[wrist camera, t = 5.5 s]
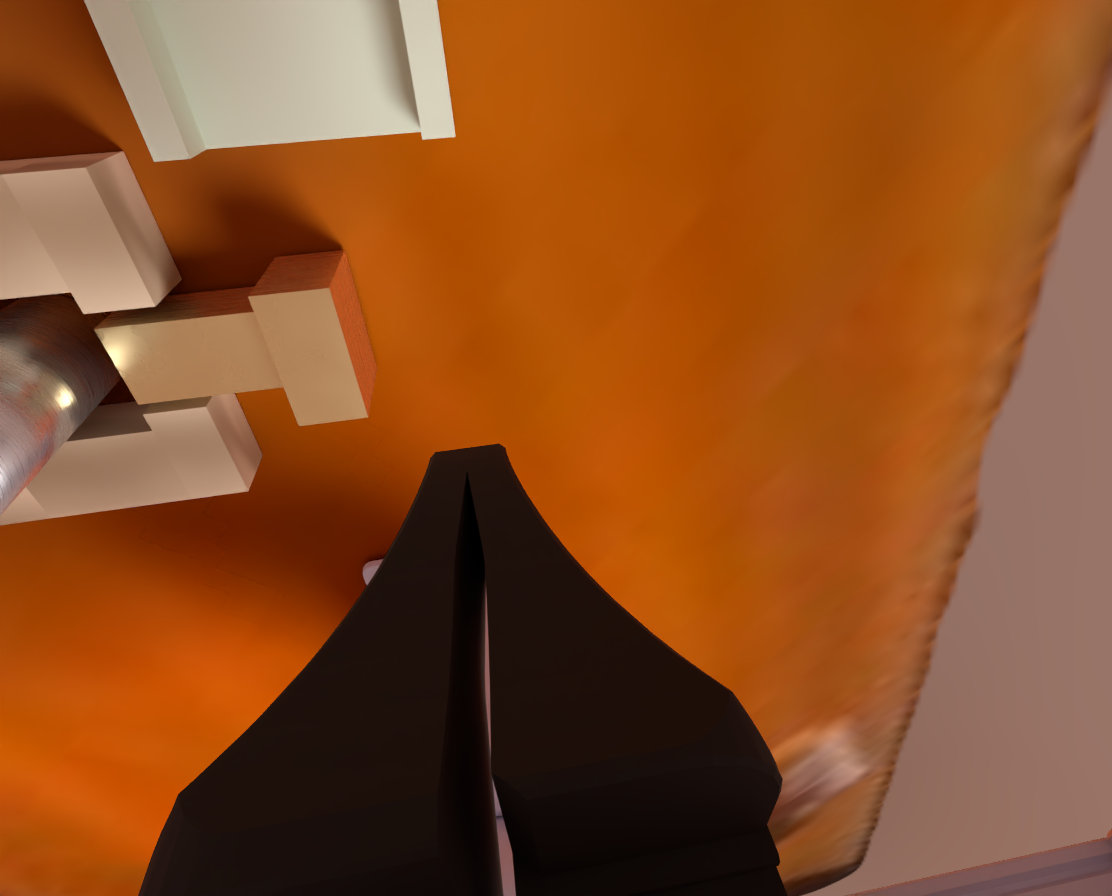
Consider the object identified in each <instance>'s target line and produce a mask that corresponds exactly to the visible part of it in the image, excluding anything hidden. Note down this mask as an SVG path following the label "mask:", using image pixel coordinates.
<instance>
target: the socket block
mask: <svg viewBox="0 0 1112 896" xmlns="http://www.w3.org/2000/svg"><path fill="white" fill-rule="evenodd" d="M181 280H182V278H181V276H180V274H179V271H178V269H177V267H176V265H175V263H174V260H173V258H172V256H171V254H170V252H169V250H168V247H167V245H166V243H165V241H164V239H163V236H162V234H161V232H160V230H159V228H158V226H157V223H156V221H155V219H154V217H153V215H152V213H151V210H150V208H149V206H148V204H147V202H146V199H145V197H144V195H143V193H142V191H141V189H140V186H139V184H138V182H137V180H136V178H135V175H134V173H133V171H132V169H131V167H130V165H129V162H128V160H127V158H126V156H125V154H124V152H123V151H119V152H107V153H95V154H82V155H70V156H58V157H45V158H33V159H21V160H8V161H0V300H1V299H10V298H20V297H30V296H40V295H50V294H59V293H69V292H71V294H72V295H73V297H74V299H75V300H76V302H77V304H78V306H79V307H80V309H81V311H82V312H83V314H89V313H99V312H108V311H118V310H127V309H137V308H146V307H155V306H156V305H157V304H158V303H159V302H160V301H161V300H162V299H163V298H164V297H165V296H166V295H167V294H168V293H169V292H170V291H171V290H172V289H173V288H174V287H175V286H176V285H177V284H178V283H179V282H180V281H181ZM262 456H263V454H262V452H261V450H260V448H259V446H258V443H257V441H256V439H255V437H254V435H253V433H252V430H251V428H250V426H249V424H248V422H247V420H246V417H245V415H244V413H243V411H242V409H241V406H240V404H239V402H238V400H237V398H236V396H235V393H231V394H223V395H214V396H206V397H198V398H190V399H181V400H173V401H165V402H156V403H148V404H140V405H138V403H137V402H136V401H134V402H126V403H117V404H109V405H101V406H96V408H95V409H94V410H93V411H92V412H91V413H90V414H89V416H88V417H87V418H86V419H85V420H84V421H83V422H82V423H81V425H80V426H79V427H78V428H77V429H76V430H75V431H74V433H73V434H72V435H71V436H70V437H69V438H68V439H67V441H66V442H65V443H64V444H63V445H62V446H61V447H60V448H59V450H58V451H57V452H56V453H55V454H54V455H53V456H52V458H51V459H50V460H49V461H48V462H47V463H46V464H45V466H44V467H43V468H42V469H41V470H40V471H39V472H38V473H37V475H36V476H35V477H34V478H33V479H32V480H31V481H30V483H29V484H28V485H27V486H26V487H25V488H24V489H23V491H22V492H21V493H20V494H19V495H18V496H17V497H16V498H15V500H14V501H13V502H12V503H11V504H10V505H9V506H8V508H7V509H6V510H5V511H4V512H3V513H2V514H1V516H0V525H6V524H13V523H21V522H28V521H35V520H43V519H50V518H57V517H65V516H72V515H79V514H86V513H94V512H101V511H108V510H116V509H123V508H130V507H138V506H145V505H152V504H159V503H167V502H174V501H181V500H189V499H196V498H203V497H211V496H218V495H225V494H232V493H240V492H247V491H249V489H250V486H251V484H252V481H253V479H254V476H255V474H256V471H257V469H258V466H259V464H260V461H261V459H262Z"/></svg>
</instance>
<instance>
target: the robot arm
mask: <svg viewBox="0 0 1112 896" xmlns="http://www.w3.org/2000/svg"><path fill="white" fill-rule="evenodd" d="M363 578H364V580H365V583H366V585H367V586H366V588H365V589H364V591H363V592H362V594H361V595H360V597H359V598H358V600H357V601H356V602H355V604H354V605H353V607H352V608H351V610H350V611H349V612H348V614H347V615H346V616H345V618H344V619H343V620H342V622H341V623H340V624H339V626H338V627H337V628H336V629H335V631H334V632H333V633H332V635H331V636H330V637H329V638H328V640H327V641H326V642H325V644H324V645H323V646H322V647H321V649H320V650H319V651H318V652H317V653H316V655H315V656H314V657H313V658H312V660H311V661H310V662H309V663H308V664H307V665H306V667H305V668H304V669H303V670H302V671H301V672H300V673H299V674H298V676H297V677H296V678H295V679H294V680H293V681H292V682H291V683H290V684H289V685H288V686H287V688H286V689H285V690H284V691H283V692H282V693H281V694H280V695H279V696H278V697H277V698H276V700H275V701H274V702H273V703H272V704H271V705H270V706H269V707H268V708H267V709H266V711H265V712H264V713H263V714H262V715H261V716H260V717H259V718H258V719H257V720H256V721H255V722H254V723H253V724H252V725H251V726H250V727H249V728H248V729H247V730H246V731H245V732H244V733H243V734H242V735H241V736H240V737H239V738H238V739H237V740H236V741H235V742H234V743H233V744H232V745H230V746H229V747H228V748H227V749H226V750H225V751H224V752H223V753H222V754H221V755H220V756H219V757H218V758H217V759H216V760H215V761H214V762H213V763H212V764H211V765H209V766H208V767H207V768H206V769H205V770H204V771H203V772H202V773H201V774H200V775H199V776H198V777H197V778H196V779H195V780H194V781H193V782H191V783H190V784H189V785H188V786H187V787H186V788H185V789H184V790H182V791H181V792H180V793H179V794H178V796H177V799H176V801H175V804H174V806H173V809H172V811H171V813H170V815H169V817H168V819H167V821H166V823H165V826H164V828H163V830H162V832H161V834H160V837H159V839H158V842H157V844H156V847H155V849H154V852H153V854H152V857H151V860H150V863H149V866H148V869H147V872H146V875H145V877H144V880H143V883H142V886H141V889H140V892H139V895H138V896H788V895H787V893H786V890H785V888H784V885H783V883H782V880H781V878H780V875H779V873H778V870H777V867H776V866H778V865H779V863H780V859H779V854H778V851H777V849H776V846H775V844H774V841H773V839H772V836H771V834H770V831H769V829H768V826H767V823H768V820H769V818H770V816H771V813H772V811H773V809H774V806H775V804H776V802H777V799H778V797H779V794H780V792H781V786H782V777H781V775H780V773H779V771H778V768H777V765H776V762H775V760H774V758H773V756H772V754H771V752H770V750H769V748H768V747H767V745H766V743H765V741H764V740H763V738H762V736H761V734H760V733H759V731H758V729H757V728H756V726H755V725H754V723H753V721H752V720H751V718H750V717H749V715H748V714H747V712H746V711H745V709H744V708H743V706H742V705H741V703H740V702H739V700H738V699H737V698H736V696H735V695H734V694H733V692H732V691H730V690H729V689H728V688H726V687H725V686H723V685H722V684H720V683H719V682H717V681H716V680H714V679H713V678H712V677H710V676H709V675H707V674H706V673H704V672H703V671H701V670H700V669H699V668H697V667H696V666H695V665H693V664H692V663H690V662H689V661H688V660H686V659H685V658H684V657H682V656H681V655H679V654H678V653H677V652H676V651H674V650H673V649H672V648H671V647H669V646H668V645H667V644H665V643H664V642H663V641H662V640H660V639H659V638H658V637H657V636H655V635H654V634H653V633H651V632H650V631H649V630H648V629H647V628H646V627H645V626H643V625H642V624H641V623H640V622H639V621H638V620H637V619H636V618H634V617H633V616H632V615H631V614H630V613H629V612H628V611H626V610H625V609H624V608H623V607H622V606H621V605H620V604H619V603H617V602H616V601H615V600H614V599H613V598H612V597H611V596H610V595H609V594H608V593H607V592H606V591H605V590H604V589H603V588H602V587H601V586H600V585H599V584H598V583H597V582H596V581H595V580H594V579H593V578H592V577H591V576H590V575H589V574H588V573H587V572H586V571H585V570H584V568H583V567H582V566H581V565H580V564H579V563H578V562H577V561H576V560H575V558H574V557H573V556H572V555H571V554H570V553H569V551H568V550H567V549H566V548H565V547H564V545H563V544H562V543H561V542H560V540H559V539H558V538H557V536H556V535H555V534H554V533H553V531H552V530H551V529H550V527H549V526H548V525H547V523H546V522H545V521H544V519H543V518H542V516H541V515H540V513H539V512H538V510H537V509H536V507H535V506H534V504H533V503H532V501H531V500H530V498H529V497H528V495H527V493H526V492H525V490H524V489H523V487H522V485H521V483H520V481H519V480H518V478H517V476H516V474H515V472H514V470H513V468H512V466H511V463H510V461H509V458H508V456H507V453H506V449H505V447H503V446H502V445H500V444H493V445H486V446H479V447H471V448H464V449H457V450H449V451H442V452H435V453H434V455H433V456H432V457H431V458H430V461H429V465H428V468H427V470H426V473H425V476H424V478H423V481H422V483H421V486H420V488H419V491H418V493H417V495H416V497H415V500H414V502H413V504H412V506H411V508H410V510H409V512H408V514H407V516H406V518H405V520H404V522H403V524H402V526H401V528H400V530H399V532H398V534H397V536H396V538H395V540H394V541H393V543H392V545H391V547H390V548H389V550H388V552H387V554H386V555H385V557H384V559H381V560H375V561H370V562H368V563H366V564H365V565H364V567H363ZM846 896H1112V829H1111V830H1110V831H1109V832H1108V834H1107V837H1106V838H1101V839H1097V840H1092V841H1088V842H1083V843H1079V844H1074V845H1070V846H1066V847H1061V848H1057V849H1052V850H1048V851H1044V852H1039V853H1034V854H1030V855H1025V856H1021V857H1016V858H1012V859H1007V860H1003V861H998V862H994V863H990V864H985V865H980V866H976V867H971V868H967V869H963V870H958V871H954V872H949V873H945V874H940V875H936V876H931V877H927V878H922V879H918V880H914V881H909V882H904V883H900V884H895V885H891V886H887V887H882V888H877V889H873V890H868V891H864V892H860V893H855V894H851V895H846Z"/></svg>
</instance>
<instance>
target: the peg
mask: <svg viewBox="0 0 1112 896" xmlns="http://www.w3.org/2000/svg"><path fill="white" fill-rule="evenodd" d="M105 319H106V317H105V316H104V315H103V314H101V313H100V312H99V313H89V314H83V312H82V311H81V309H80V307H79V306H78V304H77V302H76V300H75V299H73V298H70V297H66V296H62V295H56V294H50V295H40V296H30V297H22V298H20V299H18V300H16V301H14V302H13V303H11V304H10V305H8V306H7V307H5V308H4V309H2V310H1V311H0V516H1V514H2V513H3V512H4V511H5V510H6V509H7V508H8V506H9V505H10V504H11V503H12V502H13V501H14V500H15V498H16V497H17V496H18V495H19V494H20V493H21V492H22V491H23V489H24V488H25V487H26V486H27V485H28V484H29V483H30V481H31V480H32V479H33V478H34V477H35V476H36V475H37V473H38V472H39V471H40V470H41V469H42V468H43V467H44V466H45V464H46V463H47V462H48V461H49V460H50V459H51V458H52V456H53V455H54V454H55V453H56V452H57V451H58V450H59V448H60V447H61V446H62V445H63V444H64V443H65V442H66V441H67V439H68V438H69V437H70V436H71V435H72V434H73V433H74V431H75V430H76V429H77V428H78V427H79V426H80V425H81V423H82V422H83V421H84V420H85V419H86V418H87V417H88V416H89V414H90V413H91V412H92V411H93V410H94V409H95V408H96V406H97V405H98V404H99V403H100V402H101V401H102V400H103V398H104V397H105V396H106V395H107V394H108V393H109V392H110V391H111V389H112V388H113V387H114V386H115V385H116V384H117V383H118V381H119V380H120V379H121V378H122V376H121V375H120V373H119V371H118V369H117V368H116V366H115V364H114V363H113V361H112V359H111V357H110V356H109V354H108V352H107V351H106V349H105V347H104V346H103V344H102V342H101V340H100V339H99V337H98V335H97V334H96V332H95V330H94V329H95V328H96V327H97V326H98V325H99V324H100V323H101V322H102V321H104V320H105Z"/></svg>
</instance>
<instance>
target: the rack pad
mask: <svg viewBox="0 0 1112 896" xmlns="http://www.w3.org/2000/svg"><path fill="white" fill-rule="evenodd" d="M84 2H85V4H86V6H87V8H88V11H89V13H90V15H91V18H92V20H93V22H94V25H95V27H96V29H97V32H98V34H99V36H100V38H101V41H102V43H103V45H104V48H105V50H106V52H107V55H108V57H109V59H110V61H111V64H112V66H113V68H114V71H115V73H116V75H117V78H118V80H119V82H120V85H121V87H122V89H123V91H124V94H125V96H126V98H127V101H128V103H129V105H130V108H131V110H132V112H133V114H134V117H135V119H136V121H137V124H138V126H139V128H140V131H141V133H142V135H143V138H144V140H145V142H146V144H147V147H148V149H149V151H150V154H151V156H152V158H153V161H154V162H158V161H170V160H182V159H191V158H192V157H194V156H196V155H198V154H199V153H201V152H203V151H204V150H206V149H217V148H229V147H241V146H253V145H266V144H278V143H290V142H302V141H314V140H327V139H339V138H351V137H363V136H375V135H388V134H400V133H412V132H421V134H422V140H423V139H435V138H447V137H455V128H454V121H453V113H452V106H451V99H450V92H449V85H448V77H447V70H446V63H445V56H444V49H443V41H442V34H441V27H440V20H439V13H438V5H437V0H84Z"/></svg>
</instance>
